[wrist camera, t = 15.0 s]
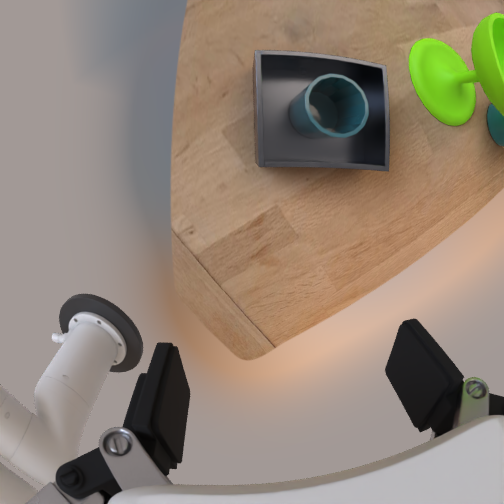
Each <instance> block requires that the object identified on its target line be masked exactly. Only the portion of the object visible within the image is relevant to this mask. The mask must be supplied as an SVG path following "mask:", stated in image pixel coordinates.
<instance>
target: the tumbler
mask: <svg viewBox="0 0 504 504" xmlns="http://www.w3.org/2000/svg"><path fill="white" fill-rule="evenodd" d="M289 116H290V120H291V122H292V124H293V126H294V127H295V129H296V130H297V131H298V132H299V133H301V134H302V135H304V136H306V137H309V138H313V139H328V138H346V137H349V136H352V135H355V134H357V133H358V132H359V131H360V130H361V129H362V128H363V127H364V126H365V123H366V121H367V118H368V116H369V109H368V101H367V99H366V96H365V94H364V91H363V90H362V89H361V88H360V87H359V86H358V85H357V84H356V82H354V81H353V80H351V79H349V78H347V77H346V76H344V75H338V74H326V75H323V76H319V77H318V78H316V79H315V80H314V81H313V82H312V83H310V84H309V85H308V86H307V87H306V88H305V89H303V90H302V91H301V92H300V93H299V94H298V95H297V96H296V97H295V98H294V99H293V100H292V102H291V105H290V109H289Z"/></svg>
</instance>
